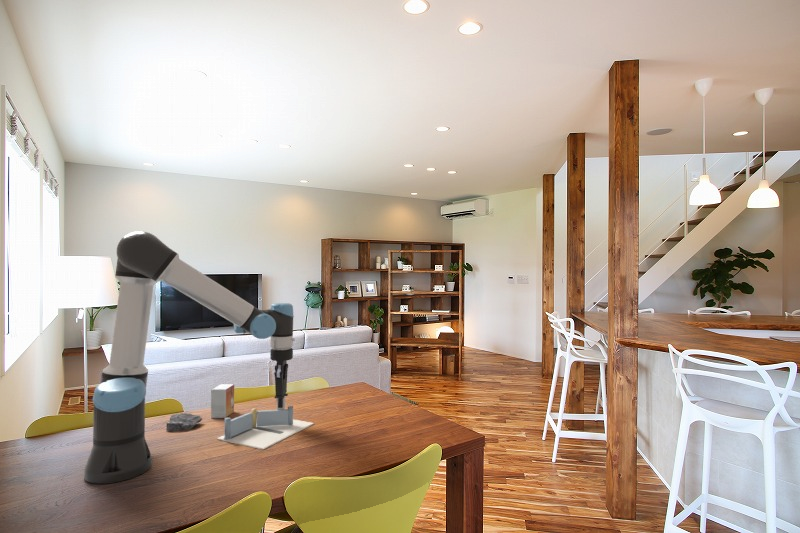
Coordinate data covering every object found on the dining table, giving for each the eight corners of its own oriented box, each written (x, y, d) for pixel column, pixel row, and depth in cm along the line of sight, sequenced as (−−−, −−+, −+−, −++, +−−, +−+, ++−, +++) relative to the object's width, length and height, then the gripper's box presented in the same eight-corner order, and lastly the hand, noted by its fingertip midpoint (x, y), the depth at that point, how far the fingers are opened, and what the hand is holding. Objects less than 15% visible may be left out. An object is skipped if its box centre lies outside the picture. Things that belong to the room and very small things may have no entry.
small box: (225, 418, 160) (226, 389, 160) (210, 418, 160) (210, 389, 160) (234, 411, 168) (234, 383, 168) (219, 411, 168) (220, 383, 168)
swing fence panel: (251, 427, 149) (251, 409, 149) (251, 425, 150) (252, 407, 150) (292, 424, 151) (292, 407, 151) (293, 423, 153) (293, 405, 153)
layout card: (263, 449, 132) (263, 448, 132) (216, 439, 140) (216, 437, 140) (313, 424, 154) (313, 422, 154) (271, 416, 162) (271, 415, 162)
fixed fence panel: (227, 441, 138) (227, 419, 138) (223, 440, 139) (223, 418, 139) (252, 430, 148) (252, 410, 148) (248, 429, 149) (248, 409, 149)
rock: (195, 431, 148) (195, 418, 148) (163, 432, 147) (163, 419, 147) (203, 423, 155) (203, 411, 155) (172, 424, 154) (172, 412, 154)
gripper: (289, 351, 147) (288, 422, 146) (295, 344, 159) (294, 409, 159) (266, 351, 146) (265, 422, 146) (274, 344, 159) (273, 410, 159)
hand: (280, 416), depth 153 cm, fingers closed
